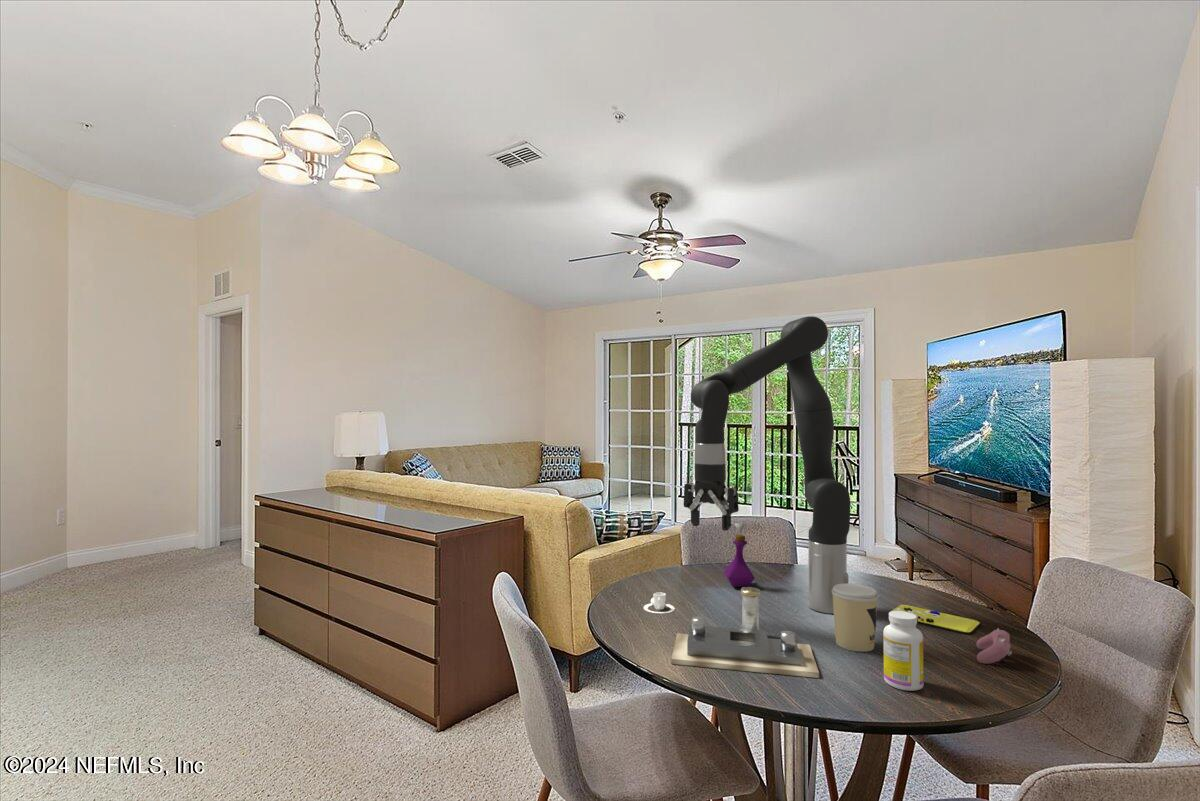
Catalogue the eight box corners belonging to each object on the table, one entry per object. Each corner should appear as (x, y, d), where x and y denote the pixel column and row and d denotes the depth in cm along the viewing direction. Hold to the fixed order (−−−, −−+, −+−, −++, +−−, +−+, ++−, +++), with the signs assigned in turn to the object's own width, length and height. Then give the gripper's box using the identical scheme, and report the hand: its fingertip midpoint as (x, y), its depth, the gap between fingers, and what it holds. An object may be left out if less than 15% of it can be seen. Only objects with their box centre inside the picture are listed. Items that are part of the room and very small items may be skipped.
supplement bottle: (908, 675, 115) (908, 608, 115) (931, 691, 108) (931, 620, 109) (876, 677, 114) (876, 609, 114) (897, 693, 108) (897, 621, 108)
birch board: (809, 649, 127) (809, 644, 127) (819, 678, 113) (819, 672, 113) (677, 637, 133) (677, 633, 133) (671, 663, 119) (671, 658, 119)
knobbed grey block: (795, 647, 125) (796, 619, 125) (800, 665, 117) (801, 634, 117) (690, 638, 130) (690, 610, 130) (687, 655, 121) (687, 625, 121)
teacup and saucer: (651, 602, 159) (652, 586, 159) (680, 607, 155) (680, 591, 155) (638, 612, 151) (638, 595, 151) (667, 617, 148) (668, 600, 148)
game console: (981, 625, 144) (981, 619, 144) (970, 638, 135) (970, 631, 136) (901, 608, 156) (901, 602, 156) (886, 618, 148) (886, 612, 148)
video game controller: (998, 675, 119) (1018, 647, 117) (974, 660, 121) (993, 632, 119) (997, 658, 127) (1014, 631, 126) (974, 644, 129) (991, 618, 128)
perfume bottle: (754, 589, 169) (755, 526, 170) (728, 589, 169) (728, 525, 170) (748, 582, 177) (748, 521, 177) (723, 581, 177) (723, 521, 177)
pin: (759, 631, 137) (759, 587, 137) (760, 638, 133) (760, 593, 133) (740, 630, 138) (740, 586, 138) (741, 636, 134) (741, 592, 134)
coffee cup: (880, 656, 124) (880, 597, 124) (832, 649, 127) (832, 592, 127) (876, 639, 133) (876, 585, 133) (831, 634, 136) (831, 581, 136)
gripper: (743, 462, 145) (744, 529, 144) (694, 459, 154) (694, 522, 154) (727, 464, 139) (727, 534, 139) (677, 461, 149) (677, 526, 149)
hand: (710, 527), depth 147 cm, fingers open, 8 cm apart
